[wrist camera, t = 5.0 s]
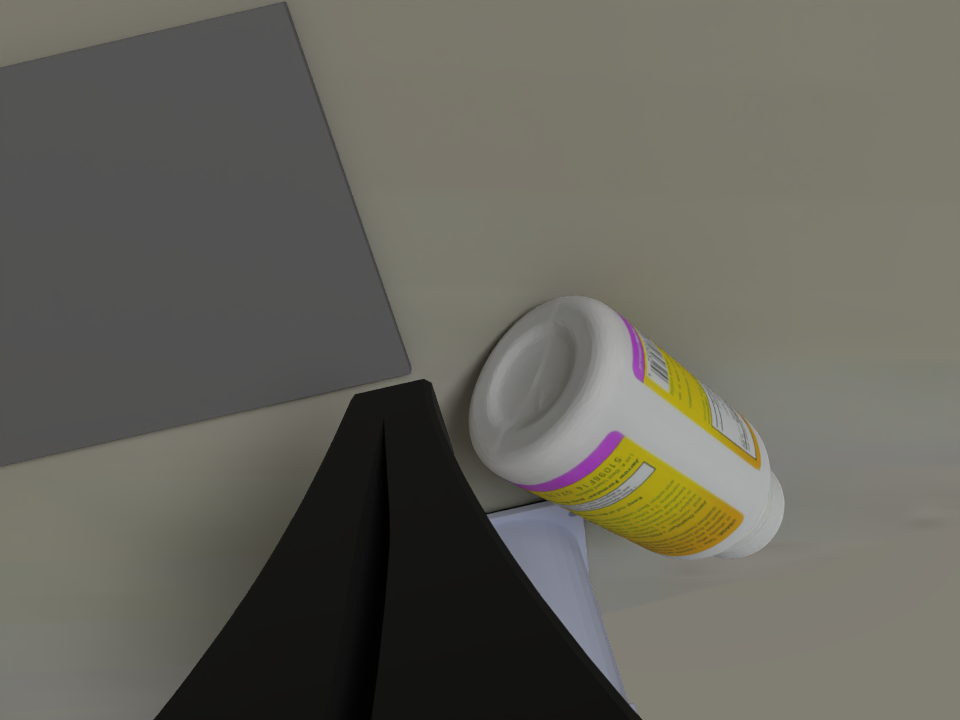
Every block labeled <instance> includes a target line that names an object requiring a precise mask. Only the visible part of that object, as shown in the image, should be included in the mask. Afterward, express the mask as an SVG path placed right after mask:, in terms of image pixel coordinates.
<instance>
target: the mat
mask: <svg viewBox="0 0 960 720" xmlns="http://www.w3.org/2000/svg"><path fill="white" fill-rule="evenodd" d="M410 373H411V365H410V362H409V359H408V356H407V353H406V350H405V347H404V344H403V341H402V339H401V336H400V333H399V330H398V327H397V324H396V321H395V318H394V315H393V312H392V309H391V306H390V304H389V301H388V298H387V295H386V292H385V289H384V286H383V283H382V280H381V277H380V274H379V271H378V269H377V266H376V263H375V260H374V257H373V254H372V251H371V248H370V245H369V242H368V239H367V236H366V234H365V231H364V228H363V225H362V222H361V219H360V216H359V213H358V210H357V207H356V204H355V201H354V199H353V196H352V193H351V190H350V187H349V184H348V181H347V178H346V175H345V172H344V169H343V166H342V164H341V161H340V158H339V155H338V152H337V149H336V146H335V143H334V140H333V137H332V134H331V131H330V129H329V126H328V123H327V120H326V117H325V114H324V111H323V108H322V105H321V102H320V99H319V96H318V94H317V91H316V88H315V85H314V82H313V79H312V76H311V73H310V70H309V67H308V64H307V61H306V59H305V56H304V53H303V50H302V47H301V44H300V41H299V38H298V35H297V32H296V29H295V26H294V24H293V21H292V18H291V15H290V12H289V9H288V6H287V3H286V1H285V2H281V3H277V4H272V5H268V6H264V7H259V8H255V9H251V10H247V11H242V12H238V13H234V14H229V15H225V16H221V17H217V18H212V19H208V20H204V21H199V22H195V23H191V24H186V25H182V26H178V27H174V28H169V29H165V30H161V31H156V32H152V33H148V34H143V35H139V36H135V37H131V38H126V39H122V40H118V41H113V42H109V43H105V44H101V45H96V46H92V47H88V48H83V49H79V50H75V51H70V52H66V53H62V54H58V55H53V56H49V57H45V58H40V59H36V60H32V61H27V62H23V63H19V64H15V65H10V66H6V67H2V68H0V466H3V465H7V464H12V463H16V462H21V461H25V460H29V459H34V458H38V457H43V456H47V455H52V454H56V453H60V452H65V451H69V450H74V449H78V448H83V447H87V446H91V445H96V444H100V443H105V442H109V441H114V440H118V439H122V438H127V437H131V436H136V435H140V434H145V433H149V432H153V431H158V430H162V429H167V428H171V427H176V426H180V425H184V424H189V423H193V422H198V421H202V420H207V419H211V418H216V417H220V416H224V415H229V414H233V413H238V412H242V411H247V410H251V409H255V408H260V407H264V406H269V405H273V404H278V403H282V402H286V401H291V400H295V399H300V398H304V397H309V396H313V395H317V394H322V393H326V392H331V391H335V390H340V389H344V388H348V387H353V386H357V385H362V384H366V383H371V382H375V381H379V380H384V379H388V378H393V377H397V376H402V375H406V374H410Z"/></svg>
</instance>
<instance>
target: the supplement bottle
mask: <svg viewBox="0 0 960 720" xmlns="http://www.w3.org/2000/svg"><path fill="white" fill-rule="evenodd" d="M469 432H470V438H471V441H472V445H473V447H474V450H475V452H476V454H477V455H478V457H479V458H480V460H481V461H482V462H483V463H484V465H485V466H486V467H487V468H489V469H490V470H491V471H492V472H494V473H495V474H497V475H498V476H500V477H502V478H504V479H506V480H508V481H510V482H512V483H514V484H516V485H517V486H519V487H521V488H523V489H525V490H527V491H529V492H531V493H533V494H535V495H538V496H540V497H542V498H544V499H545V500H548V501H550V502H552V503H554V504H556V505H558V506H560V507H562V508H564V509H566V510H568V511H570V512H572V513H574V514H576V515H578V516H580V517H582V518H584V519H587V520H589V521H591V522H593V523H595V524H597V525H599V526H601V527H603V528H605V529H607V530H609V531H611V532H613V533H615V534H617V535H619V536H621V537H624V538H626V539H628V540H630V541H632V542H634V543H636V544H638V545H640V546H642V547H644V548H646V549H648V550H650V551H652V552H655V553H657V554H659V555H662V556H665V557H668V558H673V559H679V560H695V559H701V558H706V557H710V556H716V557H720V558H728V559H734V558H741V557H745V556H748V555H751V554H753V553H755V552H757V551H759V550H760V549H762V548H763V547H764V546H765V545H767V544H768V543H769V542H770V540H771V539H772V538H773V537H774V535H775V534H776V532H777V531H778V529H779V527H780V524H781V522H782V519H783V514H784V496H783V491H782V488H781V485H780V483H779V481H778V479H777V478H776V476H775V475H774V473H773V472H772V471H771V470H770V464H769V459H768V455H767V452H766V449H765V446H764V444H763V442H762V440H761V438H760V436H759V434H758V433H757V432H756V430H755V429H754V427H753V426H752V425H751V424H750V423H749V422H748V421H747V420H746V419H745V418H744V417H743V416H742V415H741V414H740V413H738V412H737V411H736V410H735V409H734V408H732V407H731V406H730V405H729V404H727V403H726V402H725V401H724V400H722V399H721V398H720V397H719V396H717V395H716V394H715V393H714V392H713V391H711V390H710V389H709V388H708V387H706V386H705V385H704V384H703V383H702V382H700V381H699V380H698V379H697V378H696V377H694V376H693V375H692V374H691V373H689V372H688V371H687V370H686V369H685V368H684V367H682V366H681V365H680V364H679V363H678V362H676V361H675V360H674V359H673V358H672V357H670V356H669V355H668V354H667V353H665V352H664V351H663V350H662V349H661V348H659V347H658V346H657V345H656V344H655V343H653V342H652V341H651V340H650V339H649V338H647V337H646V336H645V335H644V334H643V333H641V332H640V331H639V330H638V329H636V328H635V327H634V326H632V325H631V324H630V323H629V322H628V321H627V320H625V319H624V318H623V317H622V316H620V315H619V314H618V313H616V312H615V311H613V310H612V309H611V308H609V307H608V306H606V305H605V304H603V303H602V302H600V301H598V300H595V299H592V298H589V297H584V296H564V297H559V298H556V299H553V300H550V301H548V302H546V303H543V304H541V305H539V306H538V307H536V308H534V309H533V310H531V311H530V312H528V313H527V314H525V315H524V316H523V317H522V318H520V319H519V320H518V321H517V322H516V323H515V324H514V325H513V326H512V327H511V328H510V329H509V330H508V331H507V332H506V333H505V334H504V335H503V337H502V338H501V339H500V340H499V342H498V343H497V345H496V346H495V347H494V349H493V350H492V352H491V354H490V355H489V357H488V359H487V361H486V362H485V364H484V366H483V368H482V370H481V373H480V375H479V377H478V380H477V382H476V385H475V388H474V391H473V395H472V398H471V403H470V409H469Z"/></svg>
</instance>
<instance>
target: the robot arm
mask: <svg viewBox="0 0 960 720" xmlns="http://www.w3.org/2000/svg"><path fill="white" fill-rule="evenodd" d="M154 720H642V719H641V718H640V716H639V715H638V714H637V711H636V708H635V705H634V704H633V703H628V700H627V697H626V694H625V691H624V687H623V684H622V681H621V678H620V675H619V671H618V668H617V665H616V662H615V659H614V656H613V652H612V649H611V646H610V643H609V639H608V636H607V633H606V630H605V627H604V624H603V620H602V617H601V614H600V611H599V607H598V604H597V601H596V598H595V595H594V591H593V588H592V585H591V582H590V578H589V569H588V559H587V548H586V538H585V528H584V518H582V517H580V516H578V515H576V514H574V513H572V512H570V511H568V510H566V509H564V508H562V507H560V506H558V505H556V504H554V503H552V502H550V501H545V502H540V503H536V504H531V505H527V506H522V507H518V508H513V509H509V510H505V511H500V512H496V513H491V514H487V515H486V513H485V512H484V510H483V508H482V507H481V505H480V503H479V501H478V500H477V498H476V496H475V495H474V493H473V491H472V489H471V488H470V486H469V484H468V482H467V480H466V478H465V476H464V475H463V473H462V471H461V469H460V467H459V464H458V462H457V460H456V458H455V456H454V452H453V449H452V446H451V442H450V439H449V436H448V433H447V430H446V427H445V424H444V420H443V417H442V414H441V411H440V408H439V405H438V401H437V398H436V395H435V392H434V389H433V386H432V383H431V382H429V381H427V380H425V379H421V380H417V381H412V382H408V383H403V384H399V385H394V386H390V387H385V388H381V389H377V390H372V391H368V392H363V393H359V394H355V395H354V397H353V398H352V400H351V401H350V403H349V406H348V408H347V410H346V412H345V415H344V417H343V419H342V421H341V424H340V426H339V428H338V430H337V432H336V434H335V437H334V439H333V441H332V443H331V445H330V447H329V449H328V451H327V453H326V456H325V458H324V460H323V462H322V464H321V466H320V468H319V470H318V472H317V473H316V475H315V477H314V479H313V481H312V483H311V485H310V487H309V489H308V491H307V493H306V495H305V497H304V499H303V501H302V503H301V504H300V506H299V508H298V510H297V512H296V513H295V515H294V517H293V519H292V520H291V522H290V524H289V525H288V527H287V529H286V531H285V532H284V534H283V536H282V538H281V539H280V541H279V543H278V545H277V546H276V548H275V550H274V551H273V553H272V555H271V556H270V558H269V560H268V561H267V563H266V565H265V566H264V568H263V569H262V571H261V572H260V574H259V576H258V577H257V579H256V580H255V582H254V583H253V585H252V587H251V588H250V590H249V591H248V593H247V594H246V596H245V597H244V599H243V600H242V602H241V603H240V604H239V606H238V607H237V609H236V610H235V612H234V613H233V615H232V616H231V618H230V619H229V621H228V622H227V623H226V625H225V626H224V628H223V629H222V631H221V632H220V633H219V635H218V636H217V637H216V639H215V640H214V641H213V643H212V644H211V645H210V647H209V648H208V650H207V651H206V652H205V654H204V655H203V656H202V658H201V659H200V660H199V662H198V663H197V665H196V666H195V667H194V669H193V670H192V671H191V673H190V674H189V675H188V677H187V678H186V679H185V681H184V682H183V683H182V684H181V686H180V687H179V688H178V690H177V691H176V692H175V694H174V695H173V696H172V697H171V699H170V700H169V701H168V702H167V704H166V705H165V706H164V708H163V709H162V710H161V711H160V713H159V714H158V715H157V716H156V717H155V719H154Z"/></svg>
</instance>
